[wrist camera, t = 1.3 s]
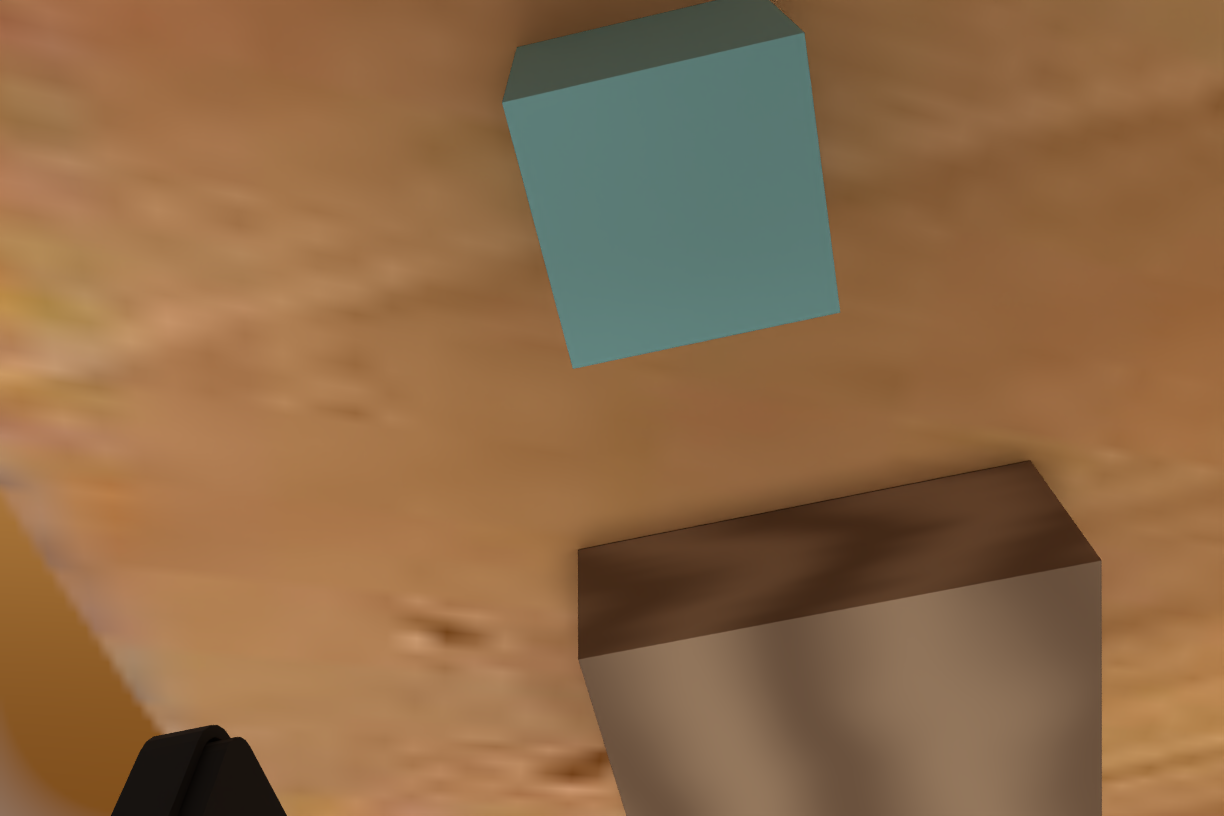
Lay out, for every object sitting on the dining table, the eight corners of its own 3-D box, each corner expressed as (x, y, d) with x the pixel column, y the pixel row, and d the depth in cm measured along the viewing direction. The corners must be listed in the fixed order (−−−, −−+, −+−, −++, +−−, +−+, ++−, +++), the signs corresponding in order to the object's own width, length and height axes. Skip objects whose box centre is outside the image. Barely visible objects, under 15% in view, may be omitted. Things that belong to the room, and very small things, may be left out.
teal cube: (757, -11, 26) (804, 32, 21) (792, 222, 29) (840, 312, 24) (517, 46, 26) (502, 102, 21) (573, 270, 29) (572, 368, 24)
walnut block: (1030, 461, 32) (1101, 560, 28) (1042, 782, 39) (1101, 903, 35) (577, 550, 34) (578, 659, 29) (664, 847, 40) (675, 973, 36)
